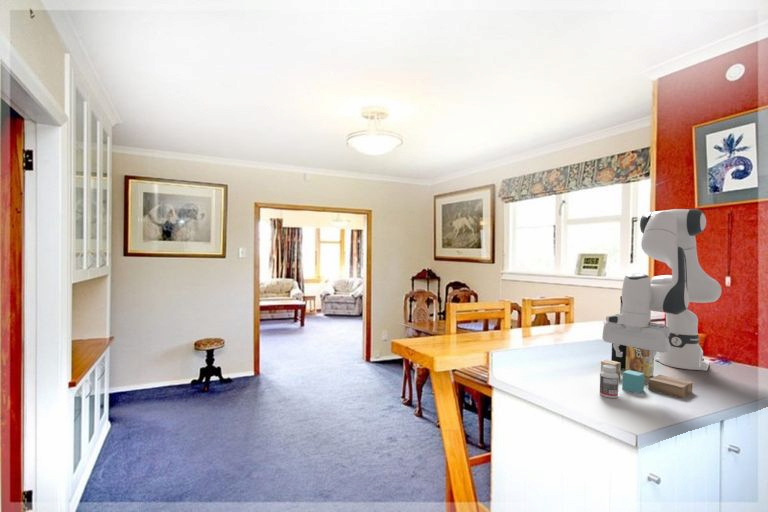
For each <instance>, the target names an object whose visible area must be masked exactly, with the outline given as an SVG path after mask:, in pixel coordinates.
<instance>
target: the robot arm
mask: <svg viewBox="0 0 768 512" xmlns="http://www.w3.org/2000/svg"><path fill="white" fill-rule="evenodd" d="M706 218H707V217H706V215H705V213H704V212H703V211H702V210H701V209H696V208H690V209H685V208H679V209H678V208H673V209H666V210H658V211H649V212H645V213H644V214H643V215H642V216H641V218H640V220H639V222H640V223H639V229H640V231H641V233H642V236H641V243H640V245H641V249H642V251H643V252H644V254H646V255H647V256H648V257H649V258H651V259H652V260H656V261H659V262H661V263H665V264H666V265H667V267H668V268H670V269H671V275H670V274H664V275H656V276H653V277H652V278H651V277H650V275H648V274H645V273H629V274H627V275H625V276H624V279H623V283H622V288H621V296H622V302H623V305H622V308H621V307H620V309H621V314H620V313H617V314H615V315H608V316H606V317H605V322H606V323H605V324H604V326H603V327H602V328H603V329H602V340H603V341H604V342H605V343H610V344H612V343H613V347H614V349H615V351H616V356H617V357H622V354H623V352H620V350H619V348H618V347H619V346H620V345H625V346H630V347H636V348H641V349H646V350H650V354H651V355H650V356H649V357H646V361H645V362H646V363H650V364H651V363H652V358H653V357H654V360H655V361H656V362H659V363H660V364H662V365H665V366H668V367H672V368H677V369H683V370H691V371H692V370H693V371H694V370H695V371H696V370H697V371H708V369H709V366H710V362H708V361H706V360H705V358H704V350H703V348H702V347H701V346H700V344H699V343H700V334H699V333H698V329H699V328H698V327H699V318H698V316H697V314H695V313H694V312H693V311H691V310H689V309H688V308H689V305H690V303H697V304H698V303H699V304H704V303H705V304H706V303H714V302H716V301H718V300H719V299H720V297H721V295H722V287H721V284H720V283H719V282H718V280H716V279H715V278H713V277H711V276H710V275H709V274H707V273H706V271H704V269H703V268H702V267H701V265H700V262H699V257H698V250H697V239H696V236H697V235H700V234H702V233H703V232H704V231H705V228H706V225H707V219H706ZM651 311H652V312H660V313H665V324H664V323H663V324H662V323H656V322H651V314H652V313H651ZM657 353H659V355H658V357H655V356H656V355H657Z"/></svg>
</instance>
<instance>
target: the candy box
mask: <svg viewBox="0 0 768 512" xmlns="http://www.w3.org/2000/svg"><path fill="white" fill-rule="evenodd" d="M650 355H651V354H650V350H646V349H641V348H636V347H630V346H626V369H625V371H627V370H631V371H636V372H640V373H644V377H647V378H649V377H650V378H651V377H652V376H654V366H655V364H654V362H655V361H654V360H655V356H654V357H653V358H652V363H651V364H650V363H646V362H645V361H646V357H649V356H650Z"/></svg>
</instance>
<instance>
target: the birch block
mask: <svg viewBox="0 0 768 512" xmlns="http://www.w3.org/2000/svg"><path fill="white" fill-rule="evenodd" d="M603 365H612V366H615V367H616V374H618V376H619V379H621V363H620V362H615V361H611V359H605V360H601V361H600V373H601V372H602V371H603Z"/></svg>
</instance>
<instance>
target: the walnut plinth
mask: <svg viewBox="0 0 768 512" xmlns="http://www.w3.org/2000/svg"><path fill="white" fill-rule="evenodd" d="M648 379H649V383H648V384H647V386H648V390H649V391H651V392H655V393H656V392H657V393H659V392H660V394H664V395H668V396H671V395H672V397H675V396H676V398H678V399H679V398H680V399H684V398H685V397H688V395H690V394H692V393H693V382H692V381H688V380H684V379H680V378H675V377H672V376H666V375H662V374H657V375H655V376H654V377H650V378H648Z"/></svg>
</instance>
